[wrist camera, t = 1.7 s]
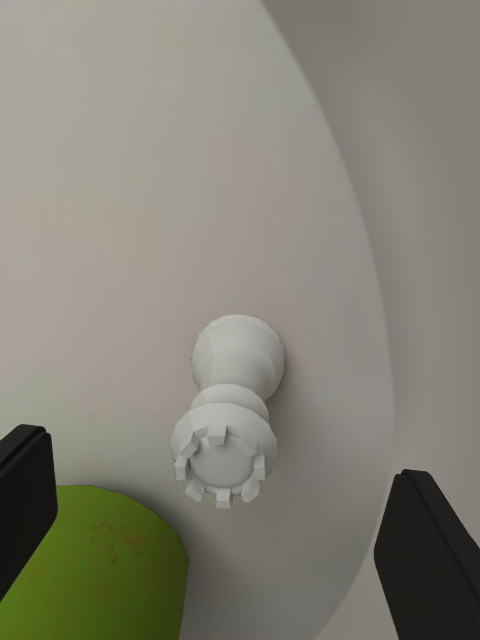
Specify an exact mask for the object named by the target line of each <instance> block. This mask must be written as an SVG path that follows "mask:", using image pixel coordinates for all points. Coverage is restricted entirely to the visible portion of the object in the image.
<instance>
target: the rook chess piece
mask: <svg viewBox="0 0 480 640" xmlns="http://www.w3.org/2000/svg"><path fill="white" fill-rule="evenodd" d="M191 363H192V371H193V379H194V381H195V382H196V384H197V386H198V387H199V389H200V393H199V394H198V395H197V396H196V397H195V398H194V399H193V400H192V403H191V406H190V409H189V411H188V412H187V413H186V414H185V415H184V416H183V417H182V418H181V419H180V420H179V421H178V422H177V423H176V424H175V427H174V430H173V433H172V436H171V439H170V445H171V452H172V458H173V460H174V462H175V466H174V468H175V475H176V481H178V480H185V479H187V480H188V484H187V488H186V492H185V494H186V495H187V496H189V497H190V498H192V499H193V500H194V501H196V502H197V503H199V502H200V500H201V499H202V497H203V495H204V492H207V493H210V494H213V495H216V503H215V509H232V501H233V496H234V495H237V494H240V493H241V497H242V498H243V500H244V501H245V502H246V503H249V502H250V501H251V500H252V499H254V498H255V497H256V496H257V495H258V494H259V483H260V482H261V481H262V480H263V481H265V478H266V477H267V476H268V475H270V473H271V471H272V469H273V467H274V465H275V463H276V461H277V458H278V454H277V439H276V437H275V436H274V434H273V432H272V430H271V428H270V426H269V412H268V410H267V408H266V406H265V401H266V400H267V399H268V398H269V397H270V396H271V395H272V394H274V393H275V392H276V390H277V388H278V386H279V384H280V381H281V379H282V377H283V374H284V347H283V345H282V343H281V341H280V339H279V337H278V335H277V333H276V332H275V331H274V330H273V329H272V328H271V327H270V326H268V325H267V324H266V323H265V322H264V321H263V320H260V319H257V318H254V317H251V316H248V315H245V314H244V315H226V316H224V317H221V318H219V319H217V320H215V321H212V322H210V323H209V324H208V325H207V326H206V328H205V329H204V330H203V331H202V332H201V333H200V334H199V335H198V338H197V341H196V344H195V347H194V350H193V354H192V358H191Z"/></svg>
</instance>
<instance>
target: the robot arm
mask: <svg viewBox="0 0 480 640" xmlns="http://www.w3.org/2000/svg"><path fill="white" fill-rule="evenodd" d="M57 513H58V502H57V492H56V482H55V472H54V462H53V452H52V442H51V435H50V434H49V433H46V429H45V428H44V427H42V426H33V425H25V424H21V425H19V426H17V427H16V428H14V429H13V430H12V431H11V432H10V433H9V434H8V435H6V436H5V437H4V438H3V439H2V440H1V441H0V602H1V601H2V599H3V598H4V597H5V595H6V594H7V592H8V591H9V589H10V588H11V586H12V585H13V583H14V582H15V580H16V579H17V577H18V576H19V574H20V573H21V571H22V570H23V568H24V567H25V565H26V564H27V562H28V561H29V559H30V558H31V556H32V555H33V553H34V552H35V550H36V549H37V547H38V546H39V544H40V543H41V541H42V540H43V538H44V537H45V535H46V534H47V532H48V531H49V530H50V528H51V527H52V525H53V523H54V522H55V519H56V517H57ZM374 561H375V566H376V569H377V572H378V575H379V578H380V581H381V584H382V588H383V590H384V594H385V597H386V600H387V603H388V606H389V609H390V613H391V616H392V619H393V622H394V625H395V628H396V631H397V634H398V637H399V640H480V548H479V547H478V546H477V544H476V542H475V541H474V540H473V539H472V538H471V536H470V535H469V534H468V532H467V530H466V529H465V527H464V526H463V524H462V523H461V522H460V520H459V518H458V516H457V515H456V513H455V512H454V510H453V509H452V507H451V506H450V504H449V502H448V501H447V499H446V498H445V496H444V495H443V493H442V491H441V490H440V488H439V487H438V485H437V484H436V483H435V481H434V479H433V477H432V476H431V475H430V474H429V473H428V472H426V471H417V470H409V469H404V470H403V471H402V472H401V474H396V475H395V477H394V480H393V484H392V487H391V491H390V494H389V498H388V501H387V505H386V508H385V512H384V515H383V519H382V522H381V526H380V529H379V533H378V536H377V540H376V543H375V547H374Z"/></svg>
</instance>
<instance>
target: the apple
mask: <svg viewBox="0 0 480 640" xmlns="http://www.w3.org/2000/svg"><path fill="white" fill-rule="evenodd" d="M56 492H57V502H58V513H57V517H56V519H55V522H54V523H53V525H52V527H51V528H50V530H49V531H48V532H47V534H46V535H45V537H44V538H43V540H42V541H41V543H40V544H39V546H38V547H37V549H36V550H35V552H34V553H33V555H32V556H31V558H30V559H29V561H28V562H27V564H26V565H25V567H24V568H23V570H22V571H21V573H20V574H19V576H18V577H17V579H16V580H15V582H14V583H13V585H12V586H11V588H10V589H9V591H8V592H7V594H6V595H5V597H4V598H3V599H2V601H1V602H0V640H179V635H180V629H181V622H182V615H183V607H184V598H185V590H186V581H187V572H188V564H189V558H188V556H187V553H186V551H185V549H184V547H183V544H182V542H181V540H180V538H179V535H178V534H177V533H176V532H175V531H174V530H173V529H172V528H171V527H170V526H169V525H167V524H166V523H165V522H164V521H163V520H162V519H161V518H160V517H159V516H158V515H157V514H156V513H154V512H153V511H151V510H149V509H148V508H146V507H144V506H143V505H141V504H139V503H138V502H136V501H135V500H133V499H131V498H130V497H128V496H126V495H124V494H120V493H116V492H113V491H109V490H105V489H102V488H98V487H94V486H91V485H87V486H56Z"/></svg>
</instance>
